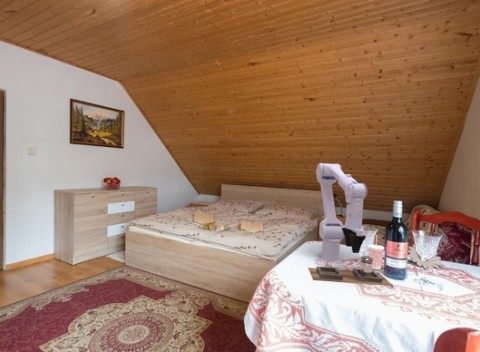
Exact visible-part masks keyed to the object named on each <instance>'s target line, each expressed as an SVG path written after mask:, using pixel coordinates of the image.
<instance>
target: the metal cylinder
mask: <svg viewBox="0 0 480 352" xmlns="http://www.w3.org/2000/svg"><path fill="white" fill-rule="evenodd" d="M368 256H369V255H365V256H364V255H363V256H361V257H360V269H361V270H360V275H361V276H365V277H372V270H373V268H372V264H373V258H371V257H368Z"/></svg>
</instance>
